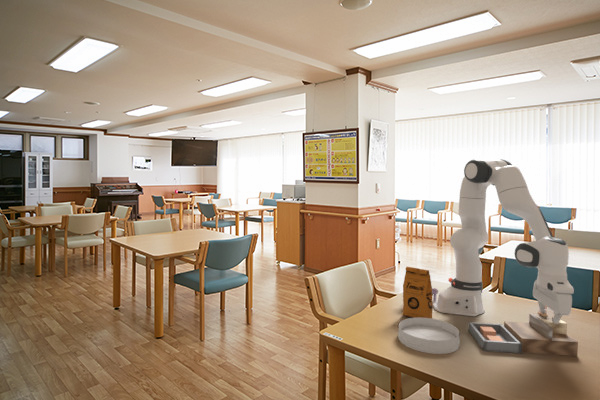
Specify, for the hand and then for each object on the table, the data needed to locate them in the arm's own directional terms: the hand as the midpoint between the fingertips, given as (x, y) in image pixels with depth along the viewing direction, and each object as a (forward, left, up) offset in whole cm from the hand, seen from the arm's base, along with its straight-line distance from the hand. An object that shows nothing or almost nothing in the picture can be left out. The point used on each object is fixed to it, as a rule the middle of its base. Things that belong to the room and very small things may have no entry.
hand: (548, 318), depth 137 cm
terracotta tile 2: (-20, +4, -7) cm, 21 cm away
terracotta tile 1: (-20, -5, -7) cm, 22 cm away
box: (-19, 0, -10) cm, 22 cm away
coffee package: (-43, +21, -10) cm, 49 cm away
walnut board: (-3, 0, -10) cm, 11 cm away
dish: (-43, -3, -11) cm, 45 cm away
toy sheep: (-40, +39, -10) cm, 57 cm away
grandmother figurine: (+14, +33, -10) cm, 37 cm away
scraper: (+1, 0, -5) cm, 5 cm away
